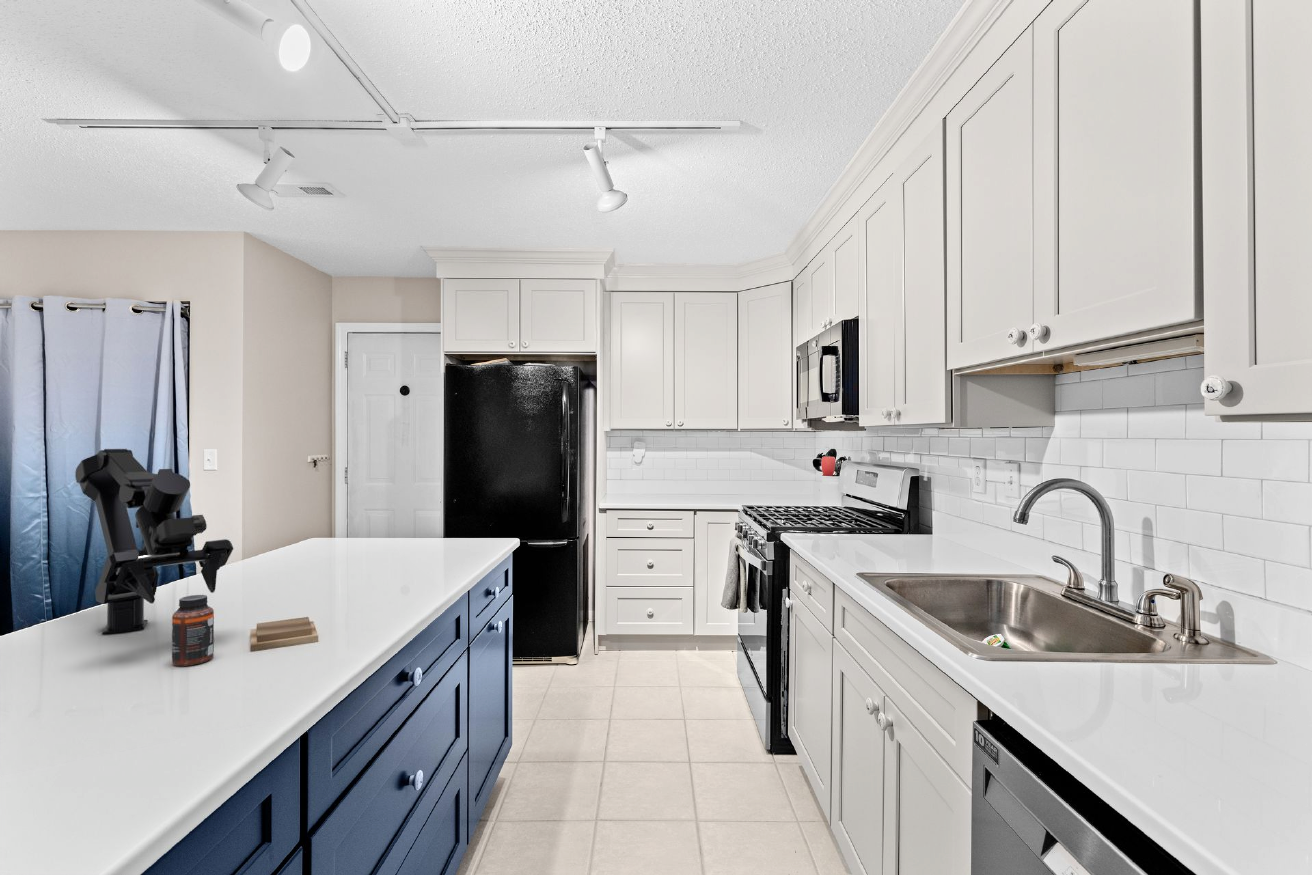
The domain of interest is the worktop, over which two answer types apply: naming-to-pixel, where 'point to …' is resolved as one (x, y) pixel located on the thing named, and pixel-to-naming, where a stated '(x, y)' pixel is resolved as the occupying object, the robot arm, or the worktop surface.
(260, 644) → the wooden stand
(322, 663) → the worktop surface
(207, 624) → the supplement bottle
